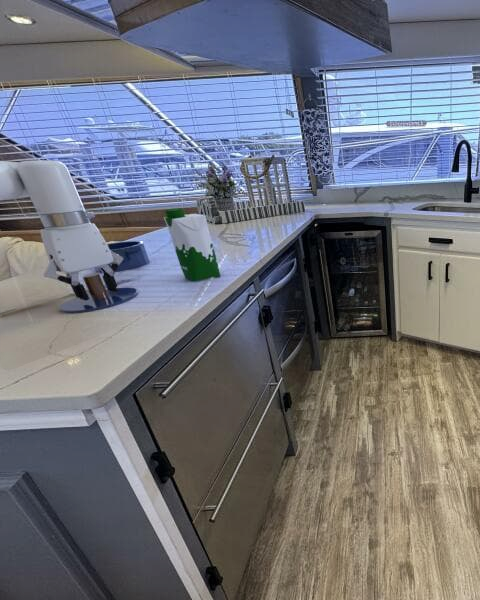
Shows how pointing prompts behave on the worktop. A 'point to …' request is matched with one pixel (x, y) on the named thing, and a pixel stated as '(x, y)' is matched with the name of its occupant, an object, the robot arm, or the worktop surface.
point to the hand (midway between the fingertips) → (99, 294)
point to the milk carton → (192, 244)
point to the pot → (129, 255)
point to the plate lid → (98, 296)
